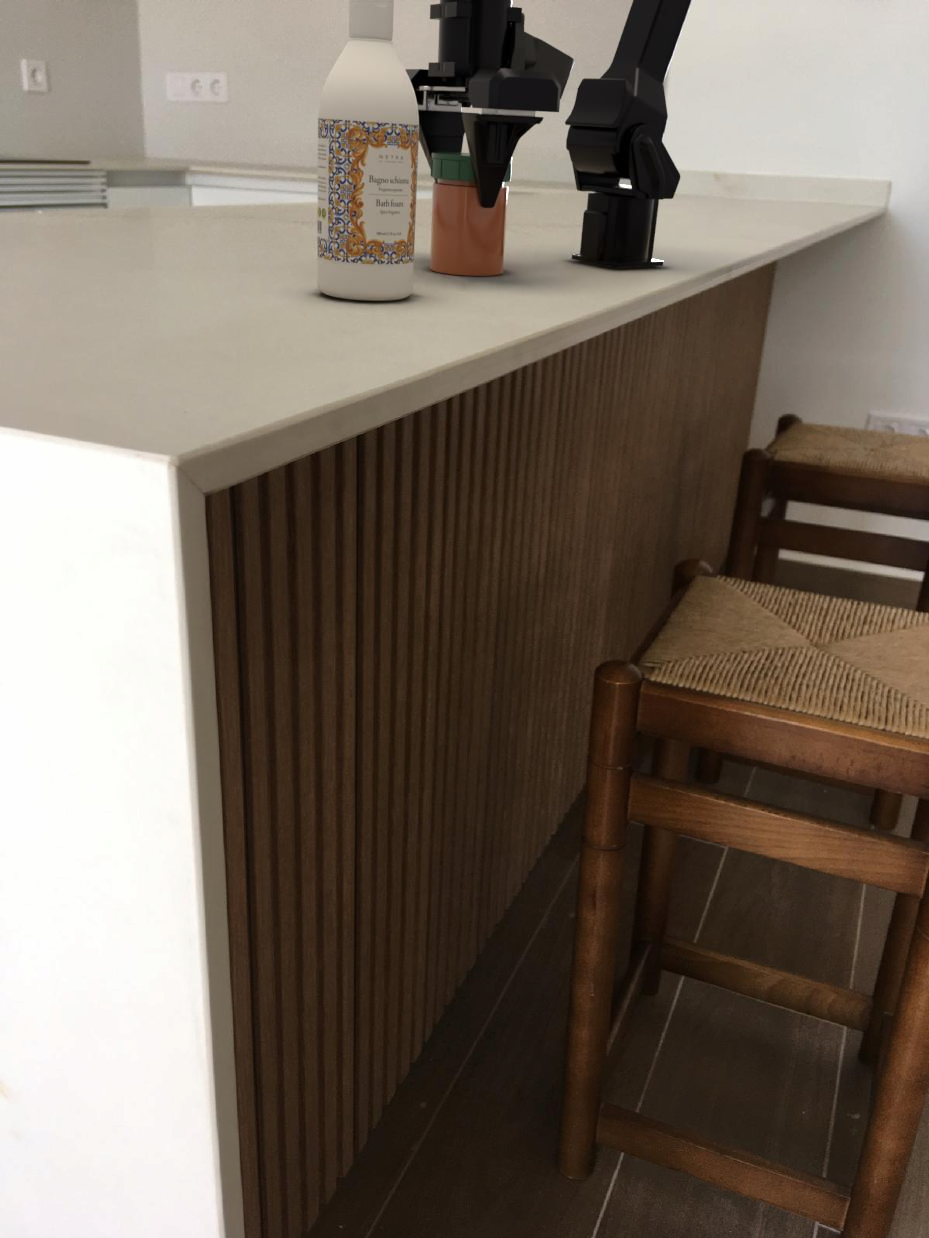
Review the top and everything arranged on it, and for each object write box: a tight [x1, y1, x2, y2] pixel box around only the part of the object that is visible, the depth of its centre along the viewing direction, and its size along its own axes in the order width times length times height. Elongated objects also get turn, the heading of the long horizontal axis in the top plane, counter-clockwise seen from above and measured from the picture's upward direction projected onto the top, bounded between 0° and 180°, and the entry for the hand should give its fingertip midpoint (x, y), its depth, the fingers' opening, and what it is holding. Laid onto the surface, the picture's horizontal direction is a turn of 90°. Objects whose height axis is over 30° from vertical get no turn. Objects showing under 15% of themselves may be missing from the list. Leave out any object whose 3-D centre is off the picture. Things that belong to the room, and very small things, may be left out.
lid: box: [430, 152, 513, 183], centre depth 90 cm, size 7×7×2 cm
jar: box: [429, 179, 509, 277], centre depth 92 cm, size 6×6×9 cm
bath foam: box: [316, 0, 420, 302], centre depth 75 cm, size 7×7×20 cm
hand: (467, 203), depth 91 cm, fingers open, 7 cm apart
